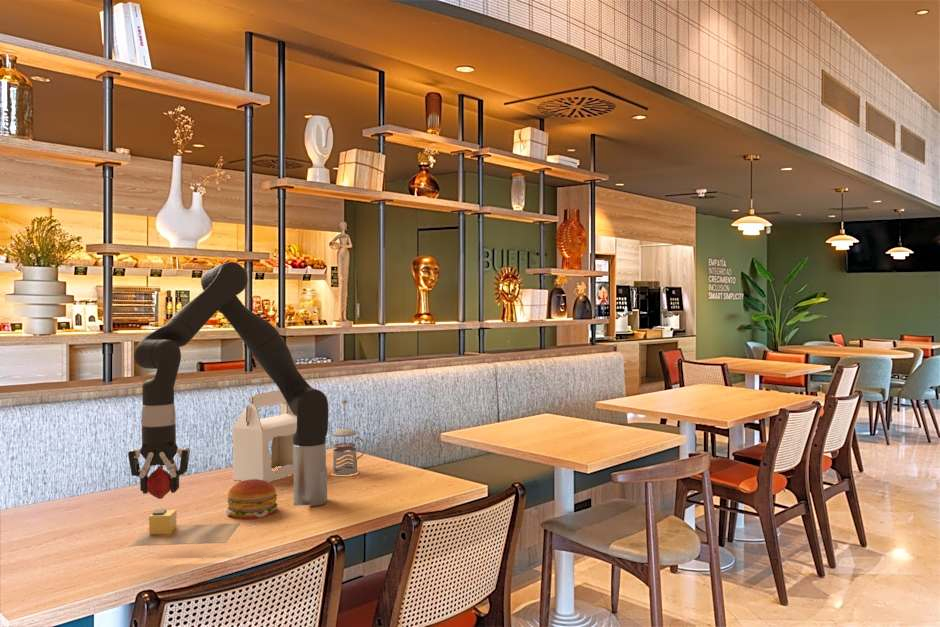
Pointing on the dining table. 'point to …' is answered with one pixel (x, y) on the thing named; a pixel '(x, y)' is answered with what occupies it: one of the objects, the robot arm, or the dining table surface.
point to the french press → (342, 447)
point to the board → (189, 535)
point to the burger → (251, 499)
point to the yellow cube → (162, 522)
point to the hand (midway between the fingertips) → (159, 492)
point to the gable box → (263, 440)
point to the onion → (159, 483)
